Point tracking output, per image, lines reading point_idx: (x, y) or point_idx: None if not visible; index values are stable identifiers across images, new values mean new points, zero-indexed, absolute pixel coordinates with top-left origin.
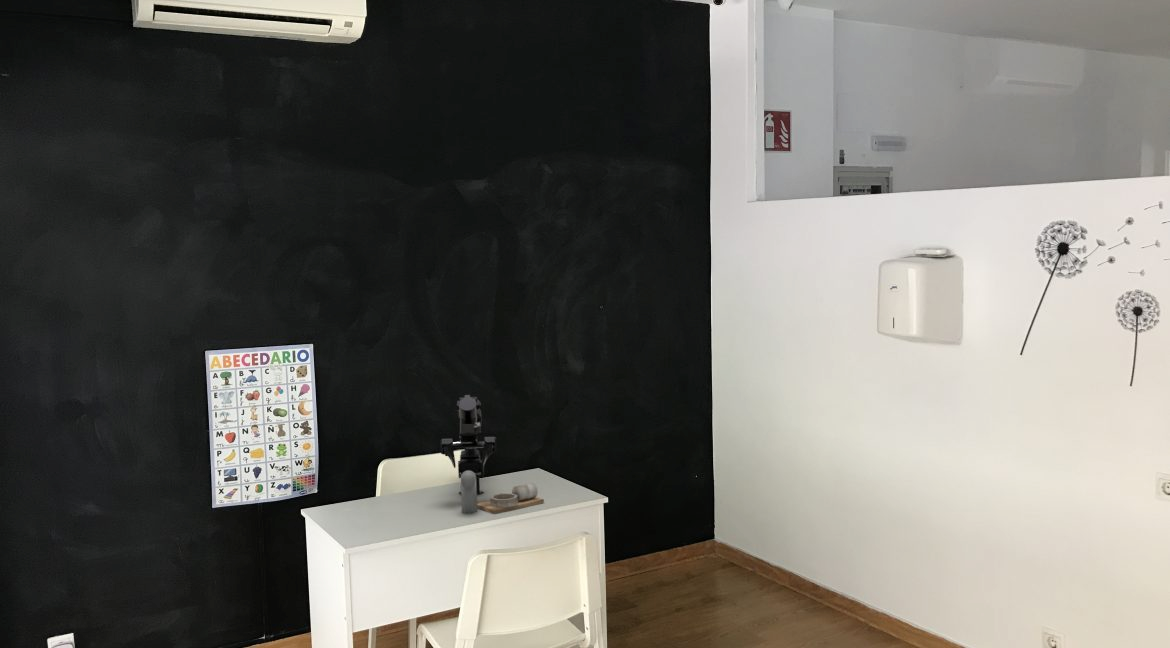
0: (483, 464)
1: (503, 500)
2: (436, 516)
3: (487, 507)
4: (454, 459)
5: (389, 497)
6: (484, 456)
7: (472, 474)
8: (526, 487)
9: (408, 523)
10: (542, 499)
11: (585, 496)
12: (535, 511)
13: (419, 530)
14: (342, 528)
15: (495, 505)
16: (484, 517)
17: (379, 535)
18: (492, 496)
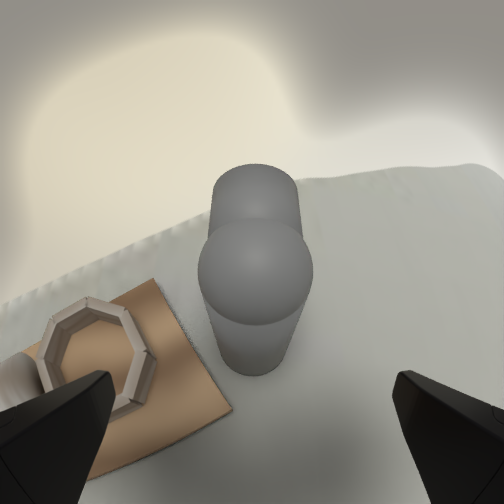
0: (94, 375)
1: (100, 301)
2: (376, 303)
3: (172, 327)
4: (445, 400)
5: None
6: (33, 404)
7: (223, 205)
8: None
9: (433, 240)
10: None
11: None
12: (32, 294)
13: (380, 178)
14: None
15: (137, 323)
16: (196, 260)
17: (447, 170)
18: (133, 374)
